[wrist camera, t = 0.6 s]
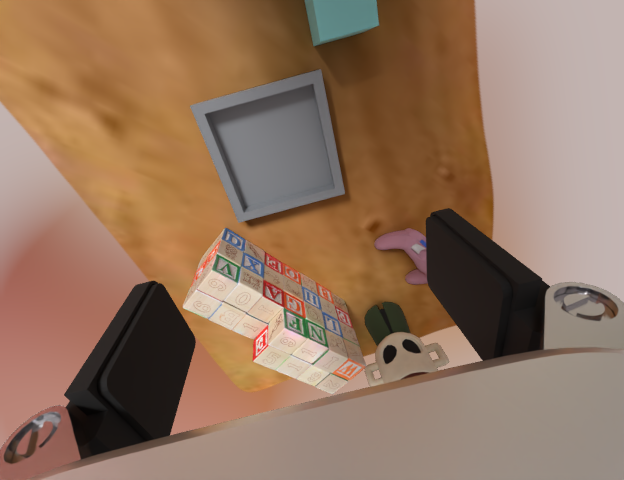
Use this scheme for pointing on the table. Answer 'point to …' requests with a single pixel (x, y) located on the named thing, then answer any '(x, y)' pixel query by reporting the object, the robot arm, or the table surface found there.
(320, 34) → the cube
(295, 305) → the stack of blocks
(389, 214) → the table surface
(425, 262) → the purple elongated lump
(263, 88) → the tray
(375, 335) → the character mug
